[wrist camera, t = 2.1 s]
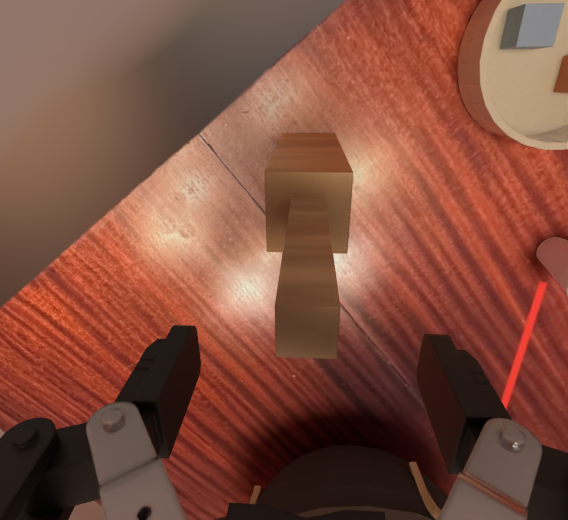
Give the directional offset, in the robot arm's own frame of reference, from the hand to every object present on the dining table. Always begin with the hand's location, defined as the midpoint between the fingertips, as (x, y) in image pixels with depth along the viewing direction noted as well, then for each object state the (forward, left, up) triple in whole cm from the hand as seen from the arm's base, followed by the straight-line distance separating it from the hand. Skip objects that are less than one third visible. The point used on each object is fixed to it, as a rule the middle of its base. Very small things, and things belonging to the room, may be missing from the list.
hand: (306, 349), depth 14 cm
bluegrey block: (-13, +21, -34) cm, 42 cm away
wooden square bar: (0, 0, -15) cm, 15 cm away
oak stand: (0, 0, -35) cm, 35 cm away
